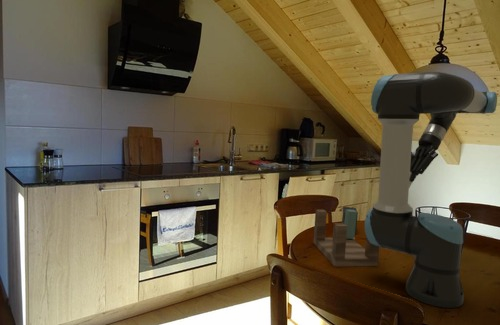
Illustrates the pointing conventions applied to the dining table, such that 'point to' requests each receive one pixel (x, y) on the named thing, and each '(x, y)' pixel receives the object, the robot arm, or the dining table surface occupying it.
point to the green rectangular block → (350, 223)
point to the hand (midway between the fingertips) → (404, 188)
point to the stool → (342, 245)
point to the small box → (344, 215)
